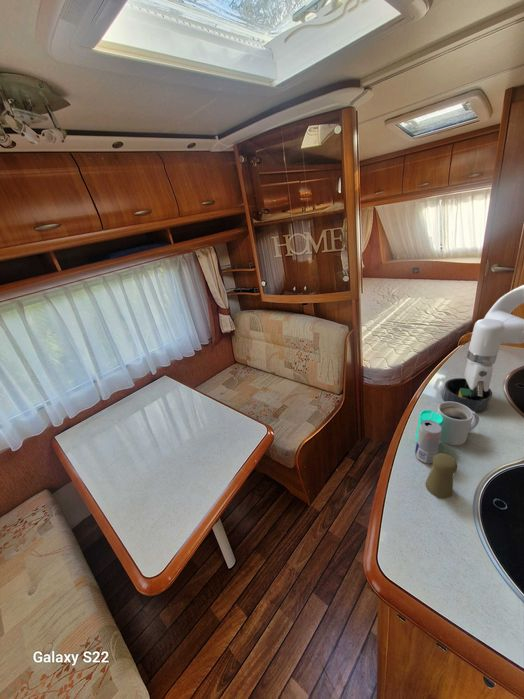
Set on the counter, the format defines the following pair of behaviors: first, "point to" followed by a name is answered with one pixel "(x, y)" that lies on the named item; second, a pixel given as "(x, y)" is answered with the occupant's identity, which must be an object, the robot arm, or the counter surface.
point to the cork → (441, 476)
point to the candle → (428, 416)
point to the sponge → (467, 393)
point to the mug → (456, 422)
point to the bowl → (475, 405)
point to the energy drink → (428, 441)
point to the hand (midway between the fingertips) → (469, 399)
